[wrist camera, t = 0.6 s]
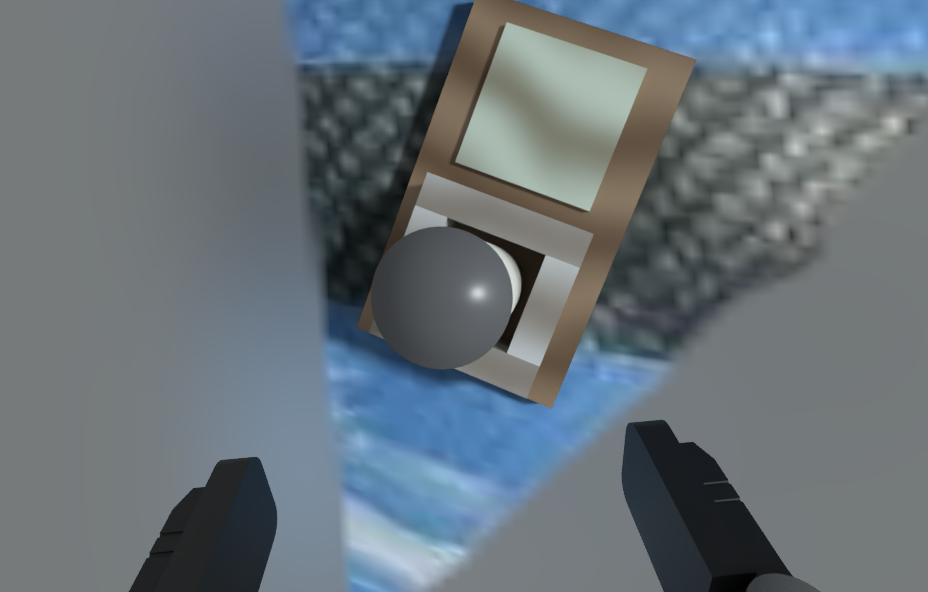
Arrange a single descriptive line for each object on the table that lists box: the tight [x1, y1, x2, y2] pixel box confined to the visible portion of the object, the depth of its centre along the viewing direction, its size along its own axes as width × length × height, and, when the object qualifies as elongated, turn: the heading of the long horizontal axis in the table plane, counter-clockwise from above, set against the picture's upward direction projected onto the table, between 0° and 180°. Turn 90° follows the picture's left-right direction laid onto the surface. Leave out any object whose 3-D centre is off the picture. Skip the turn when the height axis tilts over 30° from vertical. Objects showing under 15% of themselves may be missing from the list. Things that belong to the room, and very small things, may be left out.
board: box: [357, 0, 696, 409], centre depth 32 cm, size 23×14×6 cm, turn 159°
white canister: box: [371, 226, 523, 369], centre depth 26 cm, size 5×5×15 cm
